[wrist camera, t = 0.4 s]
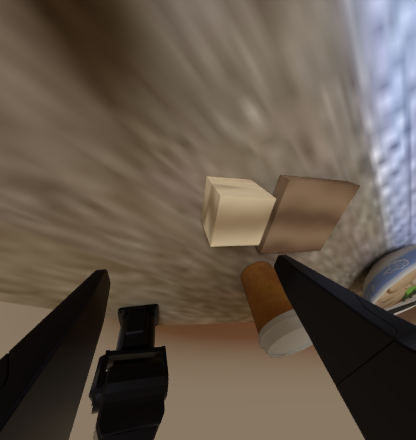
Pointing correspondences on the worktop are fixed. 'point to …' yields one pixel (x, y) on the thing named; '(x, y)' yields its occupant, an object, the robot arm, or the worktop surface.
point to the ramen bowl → (393, 281)
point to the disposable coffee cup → (273, 312)
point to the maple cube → (235, 211)
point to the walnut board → (304, 213)
